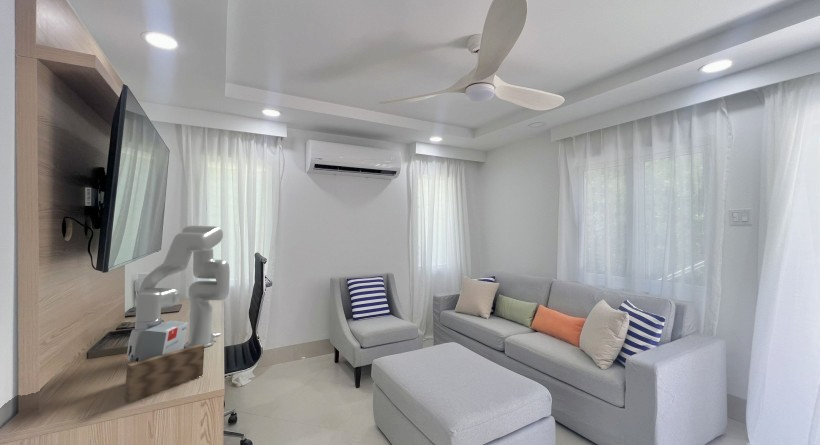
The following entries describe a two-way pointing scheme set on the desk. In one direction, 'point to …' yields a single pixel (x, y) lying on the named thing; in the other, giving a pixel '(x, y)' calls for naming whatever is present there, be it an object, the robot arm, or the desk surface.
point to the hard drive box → (163, 339)
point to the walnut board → (163, 372)
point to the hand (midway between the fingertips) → (144, 373)
